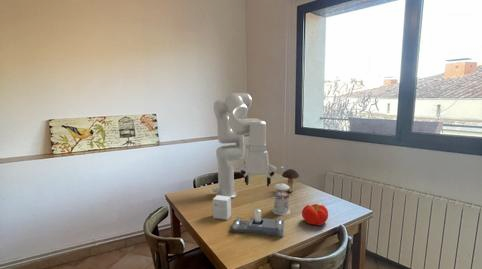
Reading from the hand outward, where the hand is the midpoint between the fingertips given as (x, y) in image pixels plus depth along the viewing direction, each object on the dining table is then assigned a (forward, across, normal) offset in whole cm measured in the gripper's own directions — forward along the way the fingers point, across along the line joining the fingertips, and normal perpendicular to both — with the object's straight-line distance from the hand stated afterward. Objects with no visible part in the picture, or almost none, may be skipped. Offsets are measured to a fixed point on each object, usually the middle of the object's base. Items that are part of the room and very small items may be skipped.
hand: (257, 184), depth 123 cm
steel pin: (+22, 0, 0) cm, 22 cm away
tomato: (+22, +27, +12) cm, 37 cm away
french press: (+22, +10, +23) cm, 34 cm away
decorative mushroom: (+22, +14, +51) cm, 57 cm away
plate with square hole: (+22, 0, 0) cm, 22 cm away
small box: (+22, -20, +10) cm, 32 cm away
